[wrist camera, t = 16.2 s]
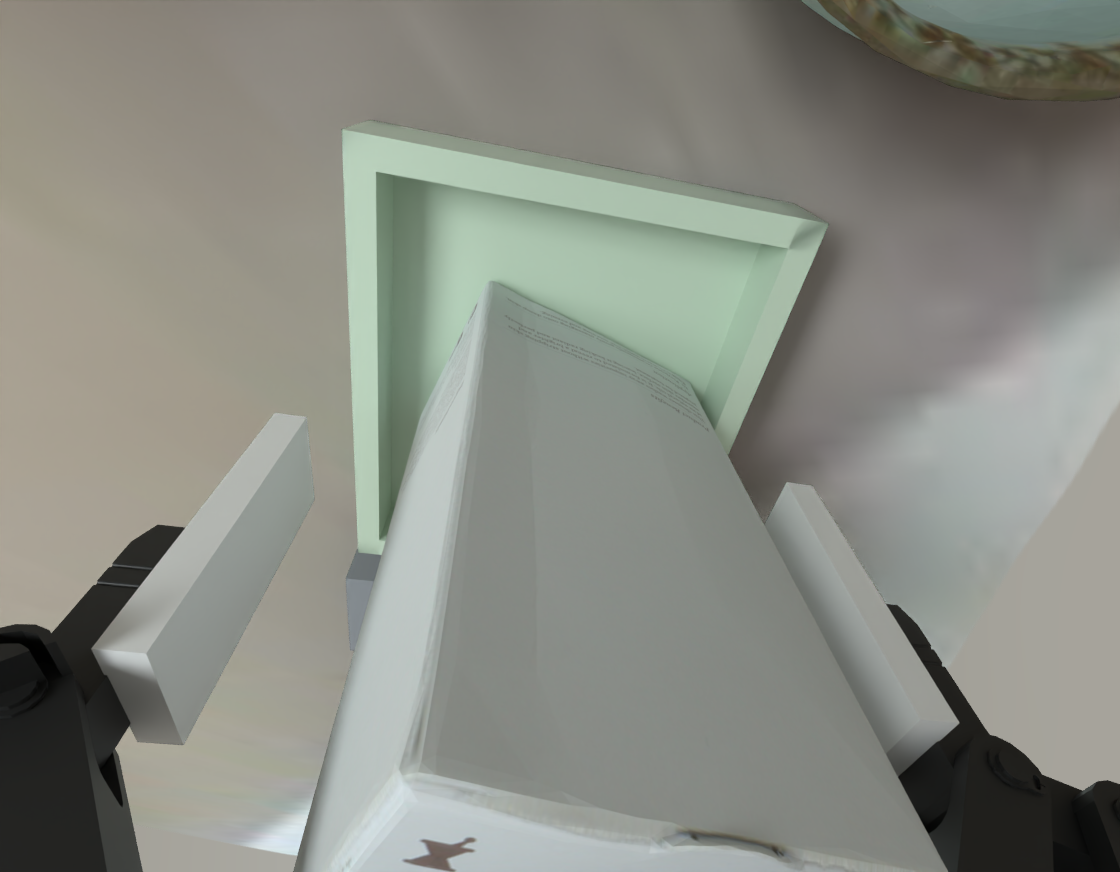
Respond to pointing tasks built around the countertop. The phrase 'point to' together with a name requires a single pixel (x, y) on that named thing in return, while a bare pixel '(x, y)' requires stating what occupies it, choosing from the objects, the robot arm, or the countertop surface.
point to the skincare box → (591, 645)
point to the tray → (548, 276)
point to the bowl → (995, 43)
